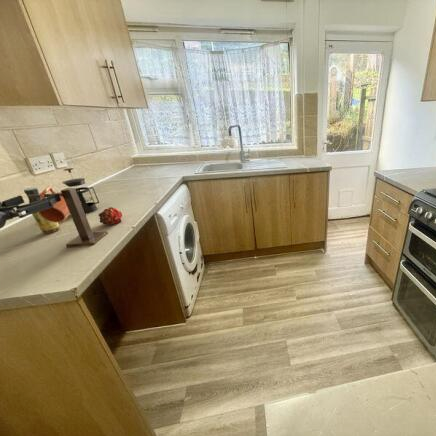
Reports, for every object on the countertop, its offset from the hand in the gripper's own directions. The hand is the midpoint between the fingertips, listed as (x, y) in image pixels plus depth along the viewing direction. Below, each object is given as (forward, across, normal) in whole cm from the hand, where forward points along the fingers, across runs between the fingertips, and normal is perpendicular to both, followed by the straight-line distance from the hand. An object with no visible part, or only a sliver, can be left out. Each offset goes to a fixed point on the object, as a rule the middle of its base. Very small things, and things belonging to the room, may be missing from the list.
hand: (40, 198), depth 89 cm
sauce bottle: (+15, -14, -20) cm, 29 cm away
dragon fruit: (+19, +10, -20) cm, 29 cm away
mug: (+9, 0, -2) cm, 10 cm away
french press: (+39, -14, -20) cm, 46 cm away
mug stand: (+2, +4, -20) cm, 20 cm away
